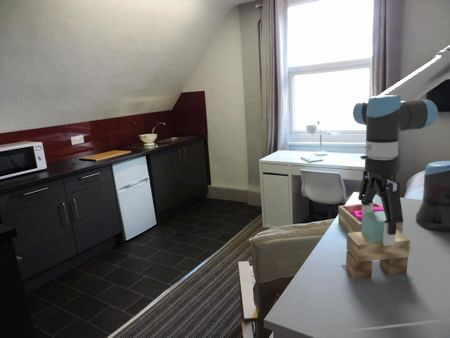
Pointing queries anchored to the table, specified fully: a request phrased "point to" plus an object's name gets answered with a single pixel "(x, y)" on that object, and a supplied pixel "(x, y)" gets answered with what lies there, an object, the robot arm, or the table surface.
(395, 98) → the robot arm
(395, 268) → the pillar
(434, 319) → the table surface
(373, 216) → the cube
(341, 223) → the wooden open box
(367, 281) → the mat
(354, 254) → the lintel
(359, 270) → the pillar
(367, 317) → the table surface
